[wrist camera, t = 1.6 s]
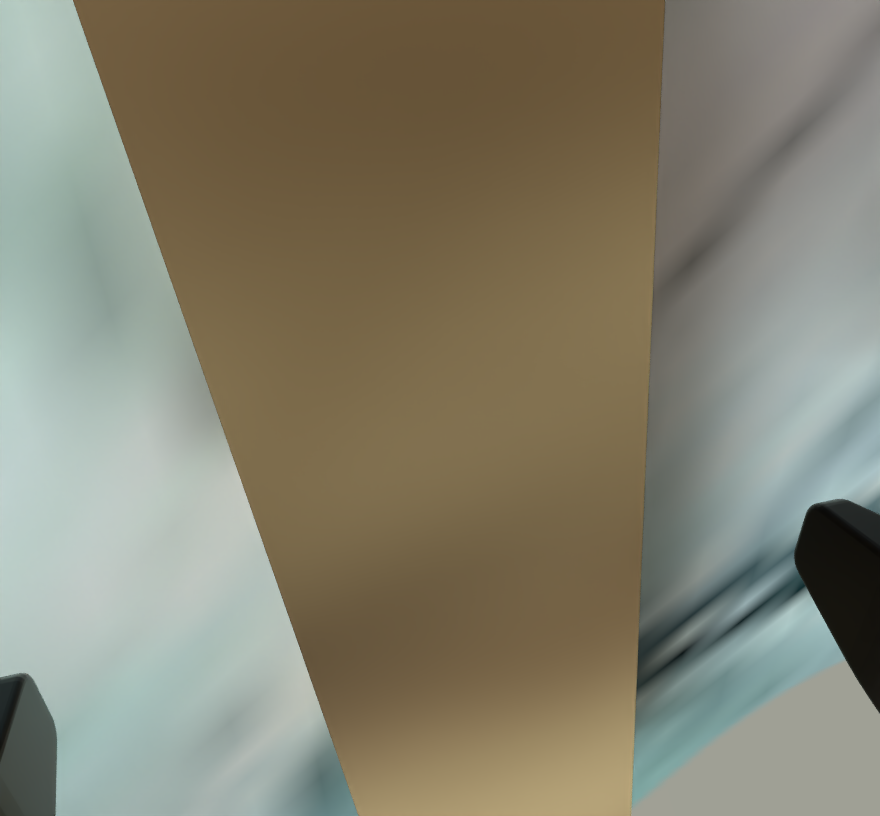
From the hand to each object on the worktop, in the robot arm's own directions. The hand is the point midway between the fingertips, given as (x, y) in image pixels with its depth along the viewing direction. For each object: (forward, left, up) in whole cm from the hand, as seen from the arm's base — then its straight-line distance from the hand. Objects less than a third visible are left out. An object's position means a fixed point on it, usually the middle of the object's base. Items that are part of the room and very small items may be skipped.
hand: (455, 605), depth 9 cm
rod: (0, 0, -3) cm, 3 cm away
